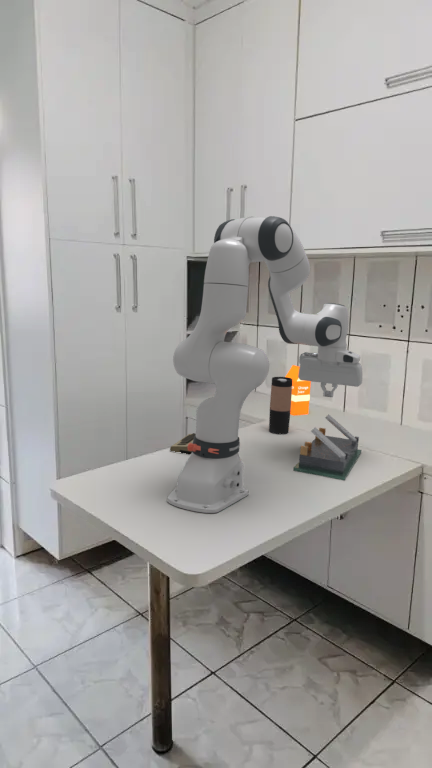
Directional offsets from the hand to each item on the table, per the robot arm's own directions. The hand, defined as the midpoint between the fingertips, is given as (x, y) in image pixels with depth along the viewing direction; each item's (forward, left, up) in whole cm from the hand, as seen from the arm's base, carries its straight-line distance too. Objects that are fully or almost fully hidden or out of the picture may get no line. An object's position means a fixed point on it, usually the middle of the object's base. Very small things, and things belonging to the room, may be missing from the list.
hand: (328, 396), depth 169 cm
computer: (-19, +40, -19) cm, 48 cm away
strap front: (-18, -5, -10) cm, 21 cm away
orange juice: (+46, +23, -19) cm, 55 cm away
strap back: (0, -5, -10) cm, 11 cm away
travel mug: (+14, +20, -19) cm, 31 cm away
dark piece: (-9, -4, -18) cm, 21 cm away
